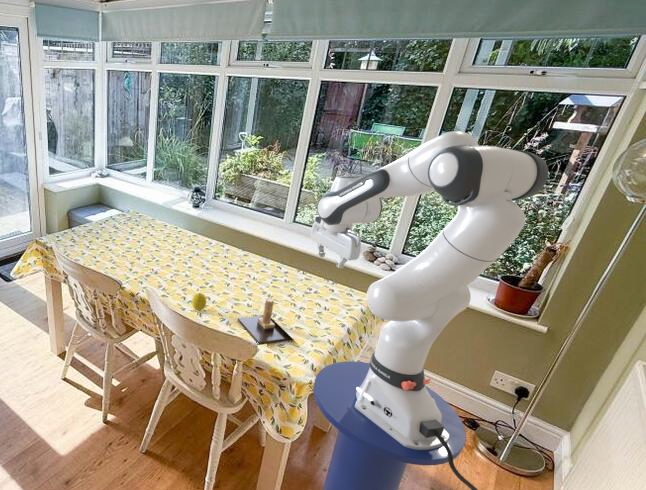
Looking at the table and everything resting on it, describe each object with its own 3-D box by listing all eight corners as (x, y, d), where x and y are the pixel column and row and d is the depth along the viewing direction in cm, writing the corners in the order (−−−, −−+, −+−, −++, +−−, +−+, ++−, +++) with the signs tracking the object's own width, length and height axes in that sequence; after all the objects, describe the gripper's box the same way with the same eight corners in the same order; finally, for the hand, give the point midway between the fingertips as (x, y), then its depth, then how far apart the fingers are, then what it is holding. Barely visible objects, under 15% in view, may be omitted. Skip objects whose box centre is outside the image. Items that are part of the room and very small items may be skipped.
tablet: (308, 338, 148) (308, 335, 148) (258, 345, 143) (259, 342, 143) (283, 315, 162) (283, 312, 162) (237, 320, 158) (237, 317, 157)
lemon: (191, 313, 162) (192, 295, 159) (191, 305, 167) (193, 288, 164) (205, 314, 161) (207, 297, 158) (205, 307, 166) (207, 290, 163)
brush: (273, 330, 150) (278, 302, 146) (264, 331, 149) (268, 303, 145) (266, 323, 154) (271, 295, 150) (257, 324, 153) (261, 296, 149)
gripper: (369, 233, 127) (359, 274, 132) (326, 214, 146) (319, 250, 150) (352, 234, 126) (343, 275, 130) (311, 214, 144) (304, 251, 149)
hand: (330, 261), depth 141 cm, fingers open, 8 cm apart
